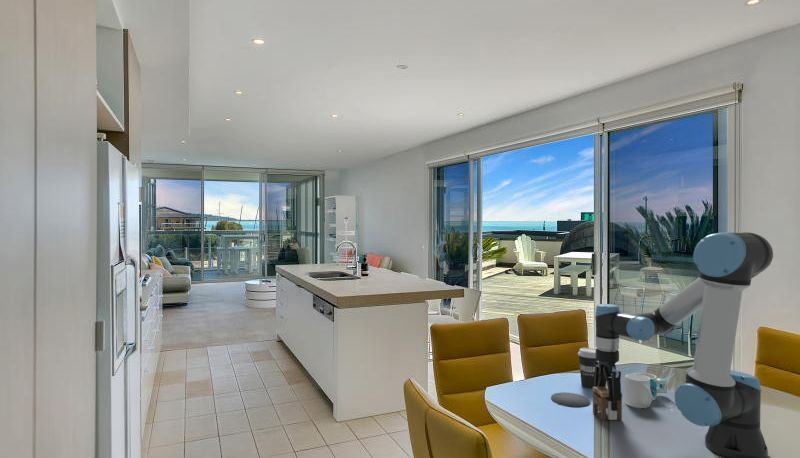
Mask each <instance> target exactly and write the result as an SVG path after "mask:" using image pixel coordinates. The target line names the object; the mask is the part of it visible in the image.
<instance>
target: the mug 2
mask: <svg viewBox="0 0 800 458" xmlns="http://www.w3.org/2000/svg"><path fill="white" fill-rule="evenodd" d="M633 374H640V375H644V376H647V377H649V378H650V390H651V393H652V401H654V400H653V399H656V400H657V398H658V397H657V395H658V394H667V390H668V389H667V387H668V386H667V385H668V384H667V379H665V378H663V377H660V378H659V377H658V376H657V375H654V374H653V373H648V372H639V371H638V372H634V373H633ZM657 377H658V378H657Z"/></svg>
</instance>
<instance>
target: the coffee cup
mask: <svg viewBox="0 0 800 458" xmlns="http://www.w3.org/2000/svg"><path fill="white" fill-rule="evenodd" d="M577 355H578V359H579V360H578V362H579V369H580V383H581V384H580V385H581V387H582V388H585V389H590V390H593V387H594V376H595V363H594V362H595V361H598V360H597V359H596V348H593V347H581V348H579V351H578V352H577ZM598 368H599V367H598Z"/></svg>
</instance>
